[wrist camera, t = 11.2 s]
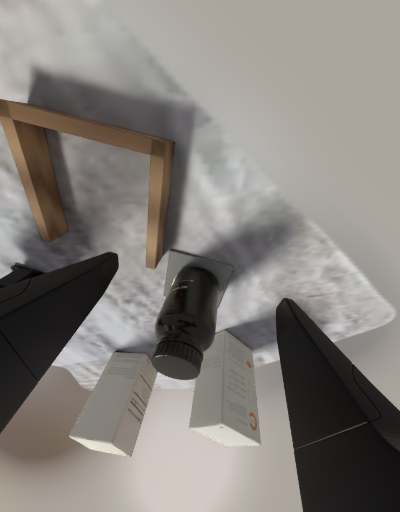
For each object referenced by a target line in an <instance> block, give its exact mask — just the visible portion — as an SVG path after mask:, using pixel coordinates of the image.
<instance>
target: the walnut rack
mask: <svg viewBox="0 0 400 512" xmlns="http://www.w3.org/2000/svg"><path fill="white" fill-rule="evenodd" d="M0 120H1V123H2V126H3V129H4V132H5V134H6V137H7V140H8V143H9V146H10V149H11V152H12V155H13V158H14V161H15V164H16V167H17V169H18V172H19V175H20V178H21V181H22V184H23V187H24V190H25V193H26V196H27V199H28V202H29V204H30V207H31V210H32V213H33V216H34V219H35V222H36V225H37V228H38V231H39V234H40V237H41V239H42V240H45V241H48V242H52V241H53V240H55V239H57V238H59V237H60V236H62V235H64V234H66V233H67V232H68V229H67V224H66V220H65V216H64V212H63V208H62V203H61V199H60V195H59V191H58V186H57V182H56V178H55V174H54V170H53V165H52V161H51V157H50V153H49V149H48V144H47V140H46V136H45V132H44V128H43V127H45V128H49V129H52V130H56V131H60V132H64V133H68V134H72V135H76V136H79V137H83V138H87V139H91V140H95V141H99V142H103V143H106V144H110V145H114V146H118V147H122V148H126V149H130V150H134V151H137V152H141V153H145V154H149V155H151V161H150V183H149V204H148V226H147V248H146V267H147V268H151V269H155V268H156V266H157V265H158V263H159V261H160V260H161V258H162V254H163V245H164V236H165V227H166V218H167V209H168V200H169V190H170V181H171V172H172V163H173V154H174V145H175V142H173V141H169V140H166V139H162V138H158V137H154V136H150V135H146V134H142V133H138V132H135V131H131V130H127V129H123V128H119V127H115V126H111V125H107V124H104V123H100V122H96V121H92V120H88V119H84V118H80V117H76V116H73V115H69V114H65V113H61V112H57V111H53V110H49V109H46V108H42V107H38V106H34V105H30V104H26V103H20V102H14V101H8V100H2V99H0Z"/></svg>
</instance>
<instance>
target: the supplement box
mask: <svg viewBox="0 0 400 512" xmlns="http://www.w3.org/2000/svg"><path fill="white" fill-rule="evenodd" d="M156 376H157V370H156V369H155V368H154V367H153V365H152V362H151V360H150V359H149V357H148V356H147V354H143V353H122V352H114V353H113V354H112V356H111V358H110V360H109V362H108V364H107V366H106V367H105V369H104V371H103V373H102V375H101V377H100V379H99V380H98V382H97V384H96V386H95V388H94V390H93V392H92V393H91V395H90V397H89V399H88V401H87V403H86V405H85V407H84V408H83V410H82V412H81V414H80V416H79V418H78V419H77V421H76V423H75V425H74V427H73V429H72V431H71V432H70V435H69V437H70V438H72V439H74V440H76V441H78V442H80V443H81V444H83V445H85V446H86V447H88V448H89V449H92V450H97V451H102V452H108V453H114V454H119V455H124V456H129V457H131V456H132V453H133V449H134V446H135V443H136V440H137V437H138V433H139V430H140V427H141V424H142V421H143V417H144V414H145V411H146V408H147V405H148V401H149V398H150V395H151V392H152V388H153V385H154V382H155V379H156Z"/></svg>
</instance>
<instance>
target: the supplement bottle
mask: <svg viewBox="0 0 400 512" xmlns="http://www.w3.org/2000/svg"><path fill="white" fill-rule="evenodd" d="M219 289H220V288H219V282H218V280H217V278H216V277H215V275H214V274H213V273H211V272H210V271H208V270H206V269H204V268H201V267H187V268H184V269H182V270H181V271H179V272H178V273H177V275H176V276H175V278H174V280H173V283H172V285H171V287H170V290H169V292H168V294H167V297H166V299H165V302H164V304H163V306H162V309H161V311H160V313H159V316H158V318H157V321H156V324H155V333H156V336H157V338H158V342H157V344H156V348H155V352H154V354H153V357H152V365H153V367H154V368H155V369H156V370H157V371H158V372H160V373H161V374H163V375H165V376H168V377H171V378H174V379H180V380H191V379H194V378H197V377H198V376H199V374H200V371H201V364H202V361H203V357H204V352H205V351H206V350H208V349H209V348H210V346H211V345H212V344H213V342H214V338H215V330H216V320H217V310H218V300H219Z"/></svg>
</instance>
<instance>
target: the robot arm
mask: <svg viewBox="0 0 400 512" xmlns="http://www.w3.org/2000/svg"><path fill="white" fill-rule="evenodd" d="M118 267H119V263H118V255H117V254H116V253H113V252H107V253H104V254H101V255H98V256H95V257H93V258H90V259H87V260H84V261H81V262H78V263H75V264H72V265H69V266H66V267H63V268H61V269H58V270H55V271H52V272H49V273H42V272H39V271H35V270H31V269H27V268H23V267H20V266H16V265H13V266H12V267H11V269H12V271H13V272H11V273H10V274H8V275H6V276H5V277H3V278H1V279H0V433H1V432H2V431H3V429H4V428H5V427H6V425H7V424H8V423H9V421H10V420H11V419H12V417H13V416H14V414H15V413H16V412H17V411H18V409H19V408H20V406H21V405H22V404H23V402H24V401H25V400H26V398H27V397H28V396H29V394H30V393H31V392H32V390H33V389H34V388H35V386H36V385H37V383H38V381H40V379H41V378H42V377H43V375H44V374H45V372H46V371H47V370H48V368H49V367H50V366H51V364H52V363H53V362H54V360H55V359H56V358H57V356H58V355H59V354H60V352H61V351H62V350H63V348H64V347H65V345H66V344H67V343H68V341H69V340H70V339H71V337H72V336H73V335H74V333H75V332H76V331H77V329H78V328H79V327H80V325H81V324H82V322H83V321H84V320H85V318H86V317H87V316H88V314H89V313H90V312H91V310H92V309H93V308H94V306H95V305H96V304H97V302H98V301H99V300H100V298H101V297H102V295H103V294H104V292H105V291H106V289H107V287H108V286H109V284H110V282H111V280H112V279H113V277H114V275H115V274H116V272H117V270H118ZM276 330H277V343H278V349H279V356H280V363H281V369H282V375H283V382H284V389H285V395H286V402H287V408H288V415H289V421H290V428H291V435H292V441H293V448H294V455H295V462H296V468H297V475H298V481H299V488H300V494H301V501H302V507H303V512H400V411H399V410H398V409H397V408H396V407H395V406H394V405H393V404H392V403H391V402H390V401H389V400H388V399H387V398H386V397H385V396H384V395H383V394H382V393H381V392H380V391H379V390H378V389H377V388H376V387H375V386H374V385H373V384H372V383H371V382H370V381H369V380H368V379H367V378H366V377H365V376H364V375H363V374H362V373H361V372H360V371H359V370H358V369H357V367H356V366H355V365H354V364H352V362H351V361H350V360H349V359H348V358H347V357H346V356H345V355H344V354H343V353H342V352H341V351H340V350H339V349H338V347H337V346H336V345H335V344H334V343H333V342H332V341H331V340H330V339H329V338H328V337H327V336H326V335H325V334H324V333H323V331H322V330H321V329H320V328H319V327H318V326H317V325H316V324H315V323H314V322H313V321H312V320H311V319H310V318H309V317H308V316H307V315H306V313H305V312H304V311H303V310H302V309H301V308H300V307H299V306H298V305H297V304H296V303H295V302H294V301H293V300H292V299H288V298H283V299H282V301H281V302H280V304H279V305H278V306H277V308H276Z"/></svg>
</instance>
